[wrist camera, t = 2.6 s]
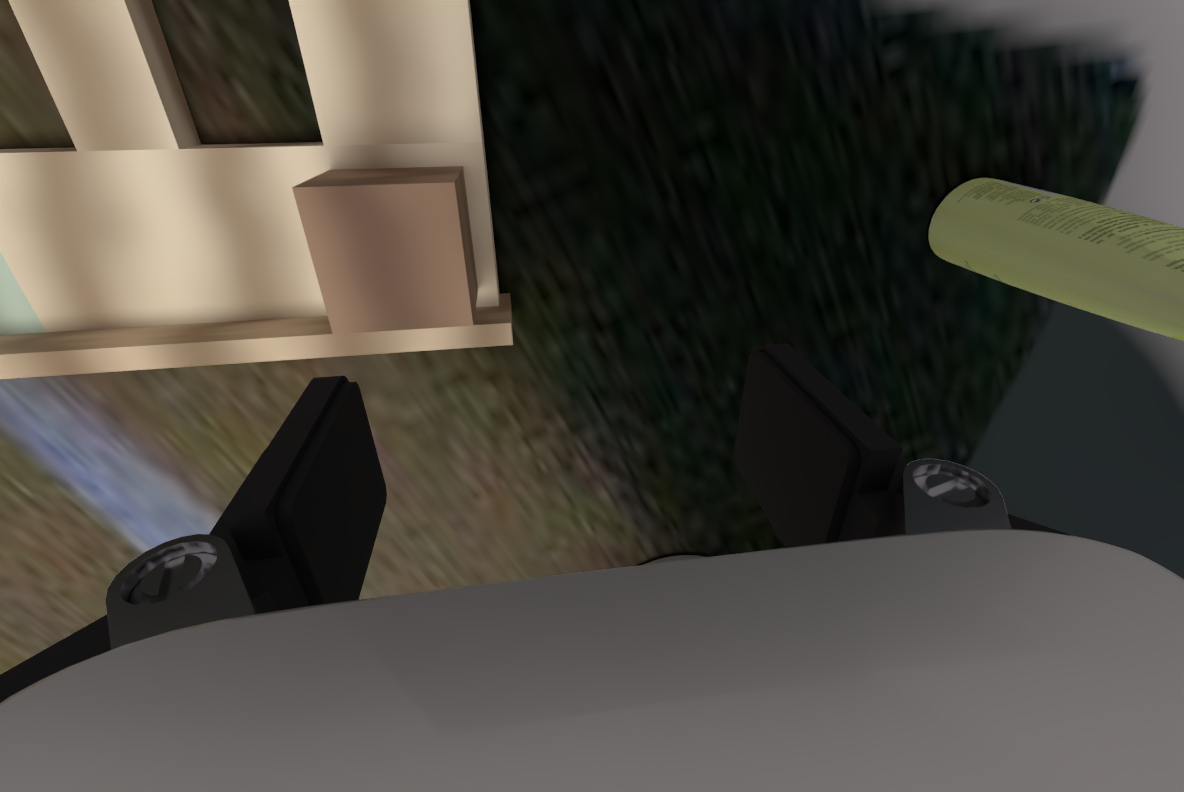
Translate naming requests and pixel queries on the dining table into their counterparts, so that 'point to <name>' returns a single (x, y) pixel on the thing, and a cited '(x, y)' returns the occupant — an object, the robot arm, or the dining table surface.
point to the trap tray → (220, 192)
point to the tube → (1066, 251)
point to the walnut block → (391, 247)
